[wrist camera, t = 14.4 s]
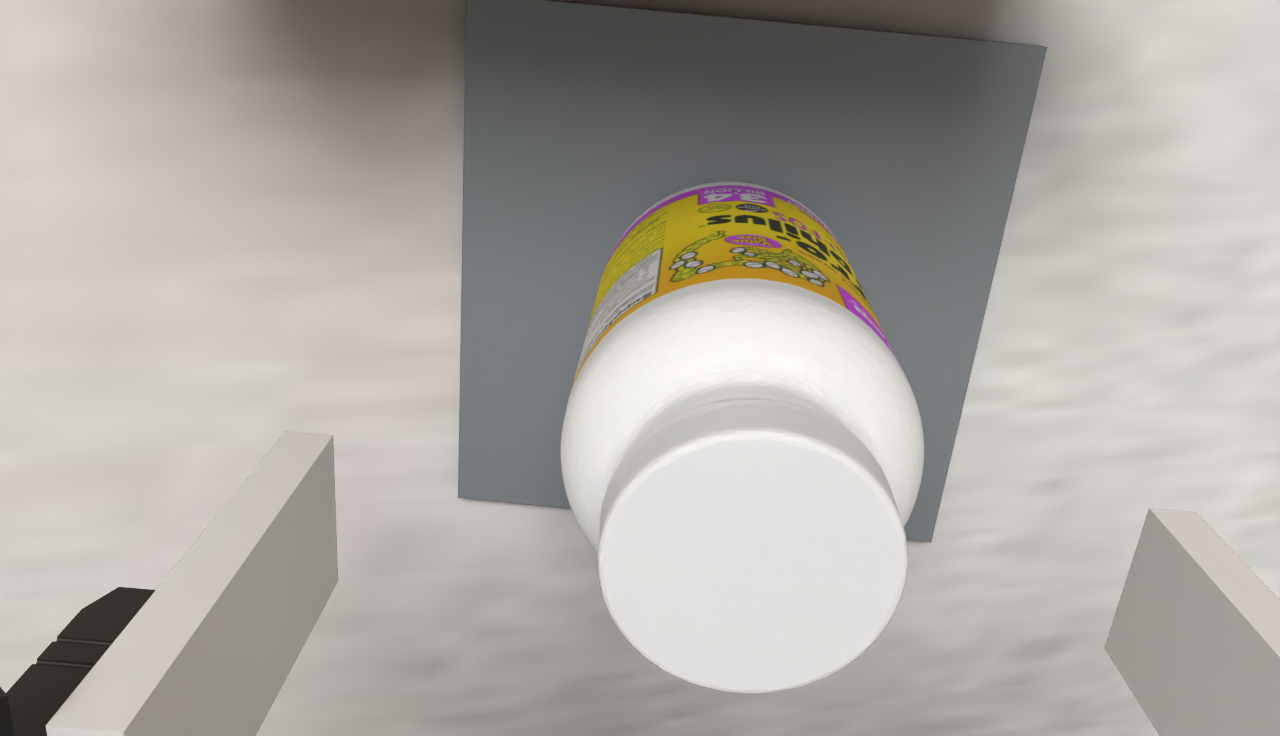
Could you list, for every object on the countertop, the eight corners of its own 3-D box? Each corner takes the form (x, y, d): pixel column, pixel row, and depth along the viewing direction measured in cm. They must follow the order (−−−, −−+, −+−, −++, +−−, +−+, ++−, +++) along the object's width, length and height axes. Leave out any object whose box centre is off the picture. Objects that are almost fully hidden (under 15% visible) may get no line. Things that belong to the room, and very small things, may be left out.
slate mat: (927, 534, 30) (930, 542, 30) (460, 490, 30) (458, 497, 30) (1041, 46, 24) (1046, 47, 24) (469, -8, 24) (466, -7, 24)
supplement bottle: (902, 278, 26) (1079, 549, 15) (740, 452, 29) (780, 811, 17) (704, 119, 25) (722, 276, 13) (550, 315, 27) (447, 600, 15)
